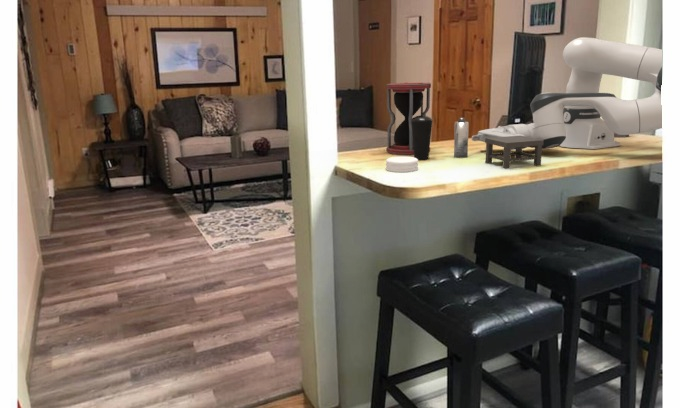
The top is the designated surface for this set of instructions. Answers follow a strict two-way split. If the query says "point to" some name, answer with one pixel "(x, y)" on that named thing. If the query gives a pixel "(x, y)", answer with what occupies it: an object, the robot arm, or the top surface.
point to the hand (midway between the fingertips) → (479, 139)
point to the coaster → (401, 164)
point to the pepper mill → (461, 138)
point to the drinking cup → (421, 135)
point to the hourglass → (405, 114)
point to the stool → (518, 143)
